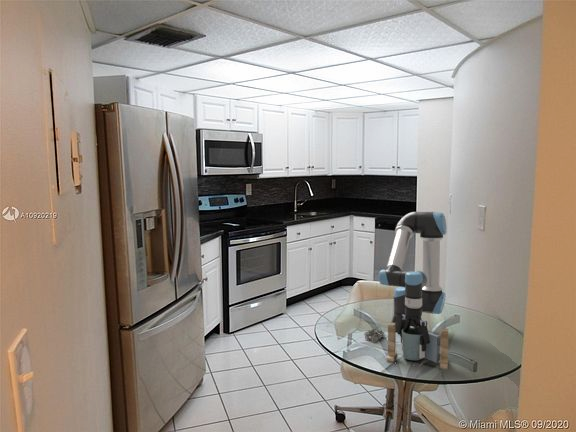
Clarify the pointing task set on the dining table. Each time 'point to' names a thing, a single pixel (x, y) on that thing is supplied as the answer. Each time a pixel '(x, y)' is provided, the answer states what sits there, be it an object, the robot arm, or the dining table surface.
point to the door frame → (393, 352)
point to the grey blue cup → (411, 344)
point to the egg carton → (376, 336)
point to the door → (432, 348)
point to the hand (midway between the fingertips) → (413, 354)
